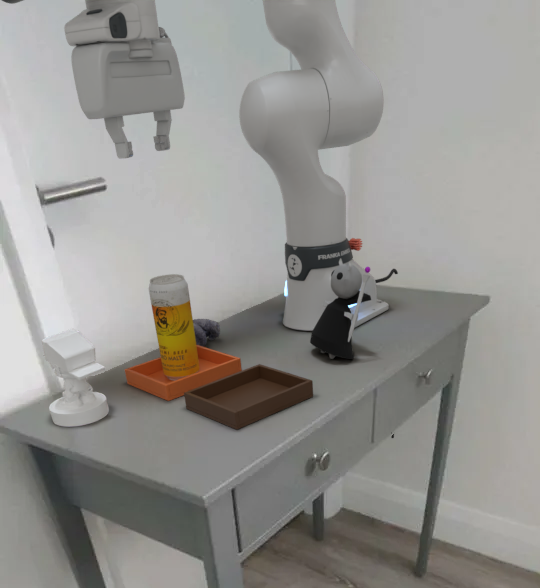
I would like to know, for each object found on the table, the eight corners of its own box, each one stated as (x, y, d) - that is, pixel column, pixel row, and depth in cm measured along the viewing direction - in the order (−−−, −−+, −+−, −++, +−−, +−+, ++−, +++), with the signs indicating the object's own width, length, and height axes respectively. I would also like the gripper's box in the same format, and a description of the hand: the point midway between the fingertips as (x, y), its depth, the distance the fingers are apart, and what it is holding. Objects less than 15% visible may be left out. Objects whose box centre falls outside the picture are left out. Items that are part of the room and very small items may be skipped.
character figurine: (86, 400, 104) (66, 322, 97) (124, 411, 99) (106, 330, 91) (41, 419, 99) (16, 339, 91) (79, 432, 94) (56, 348, 86)
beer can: (157, 380, 107) (139, 283, 98) (175, 368, 111) (159, 273, 102) (190, 383, 105) (174, 283, 96) (206, 370, 109) (193, 273, 100)
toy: (298, 344, 114) (319, 251, 107) (331, 349, 117) (354, 259, 110) (326, 363, 106) (352, 263, 98) (361, 368, 109) (389, 271, 101)
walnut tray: (260, 379, 105) (259, 363, 104) (313, 396, 98) (312, 380, 96) (186, 408, 98) (183, 392, 96) (236, 429, 91) (234, 412, 89)
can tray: (199, 358, 116) (197, 344, 114) (242, 373, 108) (240, 358, 107) (127, 383, 108) (124, 369, 107) (168, 401, 101) (165, 385, 99)
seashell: (216, 344, 125) (180, 361, 120) (200, 320, 125) (163, 336, 119) (229, 329, 121) (193, 347, 116) (213, 304, 120) (176, 320, 115)
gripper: (149, 29, 92) (166, 147, 101) (54, 27, 78) (83, 163, 87) (186, 24, 90) (200, 145, 98) (95, 20, 76) (121, 161, 84)
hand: (145, 154), depth 92 cm, fingers open, 8 cm apart
